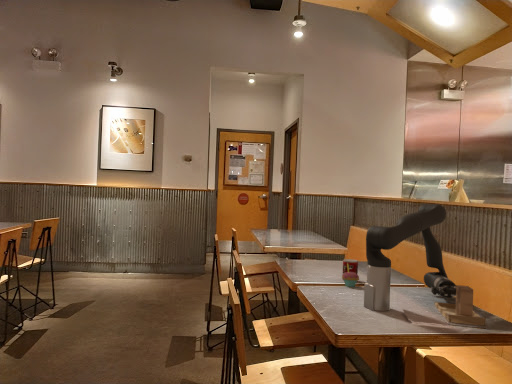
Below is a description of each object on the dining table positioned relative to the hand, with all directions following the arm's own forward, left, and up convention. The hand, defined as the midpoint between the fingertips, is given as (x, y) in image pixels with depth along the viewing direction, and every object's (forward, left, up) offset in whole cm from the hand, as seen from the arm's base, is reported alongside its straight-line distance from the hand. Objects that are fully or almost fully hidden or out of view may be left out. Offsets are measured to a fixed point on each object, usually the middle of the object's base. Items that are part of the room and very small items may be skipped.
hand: (455, 295), depth 152 cm
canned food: (-9, +63, -8) cm, 65 cm away
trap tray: (-2, -4, -8) cm, 8 cm away
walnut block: (-5, -9, -6) cm, 12 cm away
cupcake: (-16, +51, -8) cm, 54 cm away
